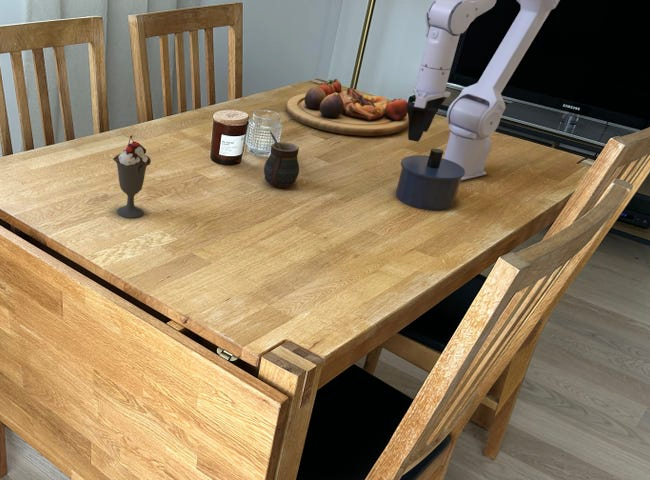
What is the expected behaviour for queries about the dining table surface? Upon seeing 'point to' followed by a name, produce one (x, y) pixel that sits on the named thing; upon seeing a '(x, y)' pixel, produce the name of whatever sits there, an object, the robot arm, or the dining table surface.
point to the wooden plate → (348, 111)
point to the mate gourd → (282, 164)
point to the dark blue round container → (426, 191)
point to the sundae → (131, 176)
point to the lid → (433, 166)
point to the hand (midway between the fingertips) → (417, 135)
